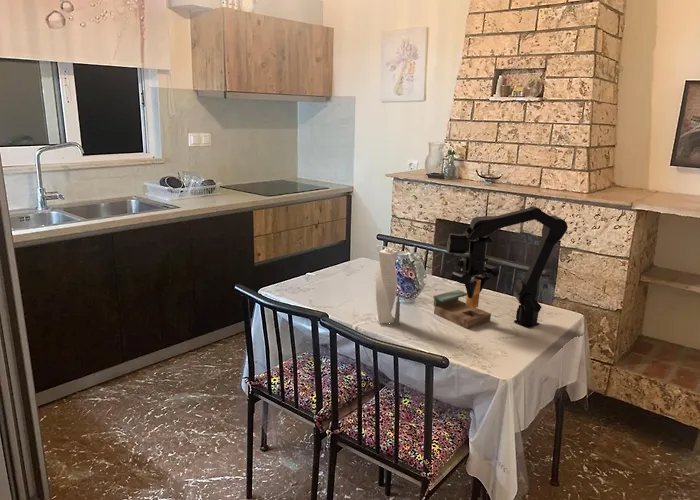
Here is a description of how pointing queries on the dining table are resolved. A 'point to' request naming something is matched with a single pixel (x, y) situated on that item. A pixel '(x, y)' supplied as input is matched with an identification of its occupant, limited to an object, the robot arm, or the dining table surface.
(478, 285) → the peg
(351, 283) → the dining table surface
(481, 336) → the dining table surface
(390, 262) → the skyscraper
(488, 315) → the socket board
